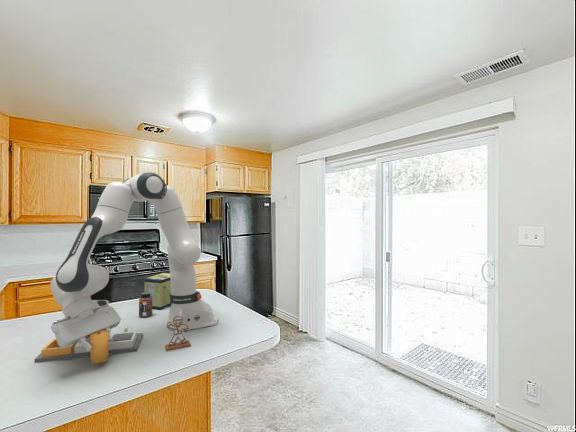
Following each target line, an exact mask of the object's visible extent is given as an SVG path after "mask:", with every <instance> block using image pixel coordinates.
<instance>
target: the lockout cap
mask: <svg viewBox="0 0 576 432" xmlns="http://www.w3.org/2000/svg"><path fill="white" fill-rule="evenodd" d="M90 343H92V344H93V345H94V348H93V349H92V350H91V356H90V363H92V364H100V363H105V362H106V361H107V360H108V359H109V355H110V354H109V353H108V331H106V330H101V331H97V332H95V333H92V334H90Z"/></svg>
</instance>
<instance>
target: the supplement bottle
mask: <svg viewBox="0 0 576 432" xmlns="http://www.w3.org/2000/svg"><path fill="white" fill-rule="evenodd" d="M138 316H139V317H140V318H149V317H151V316H153V309H152V297H151V296H150V292H145V291H143V292H141V293H140V297H139V298H138Z"/></svg>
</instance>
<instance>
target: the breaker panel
mask: <svg viewBox="0 0 576 432" xmlns="http://www.w3.org/2000/svg"><path fill="white" fill-rule="evenodd" d="M128 328H129V327H127V326H125V327H124V329H123V332H115V333H114V332H113V333H112V334H111V337H112V341H110V342H108V353H109V355H116V354H124V353H133V352H138V349H139V346H140V344H141V342H142V339H143V337H144V333H143V332H138V331H135V330H134V331H128V330H129V329H128ZM85 341H86V342H88V343H89V344H90V337H89V338H87V339H86V340H85ZM88 357H90V358H91V350H90V351H87V350H86V348H85V347H83V346H81V345H79V344H78V342H77V343H75V344H72V345H70V346H67V347H65V348H62V347H60V346H59V345H58V342H57V340H56V338H54V339H52V340H50V341H49V342H48V343H47V344H46V345H45V346H44V347H43V348H42V349H41V352H40V354H38V355H37V356H36V357H35V358H34V359H33V360H34V364H35V363H44V362H52V361H60V360H61V361H62V360H71V359H80V358H88Z"/></svg>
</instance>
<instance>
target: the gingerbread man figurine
mask: <svg viewBox="0 0 576 432" xmlns="http://www.w3.org/2000/svg"><path fill="white" fill-rule="evenodd" d="M176 317H181V316H176ZM176 317H174V319H175V318H176ZM181 318H182V317H181ZM174 319H173V324H174V321H176V322H177V321H180V320H182V322H183V319H178V320H177V319H175V320H174ZM167 322H168V321H167ZM167 322H166V328H167V329H168V330H169V331H172V332H173V335H172V337H171V340H170V341H169V343H168V344H167V343H166V344H165V346H164V348H165V352H170V351H175V350H180V349H184V348H185V347H186V348H189V347H191V341H190V340H187V339H186V338H185V336H184V335H183V332H184V333H188V332H189V331H190V330H189V328H185V329H184V328H181V331H180V330H179V328H177V327H180V325H186V324H182V322H181V321H180V322H181V323H180V322H179V323H180V324H179V323H176V322H175V323H176V324H174V325H172V323H171V322H168V323H171V324H170V325H168V323H167ZM177 324H179V325H178V326H177ZM167 325H168V326H167ZM171 325H172V326H175V327H176V328H177V329H176V330H177V331H176V330H175V329H174V328H170V327H169V326H171ZM186 326H187V325H186ZM187 327H188V326H187ZM182 329H183V330H184V331H182ZM187 329H188V330H187ZM175 331H176V333H175ZM179 331H180V332H179ZM179 335H181V336H182V337H183V339H180V337H179ZM175 336H177V337H176V339H175V341H173V339H174V338H175ZM178 340H179V341H178ZM177 341H178V342H177Z"/></svg>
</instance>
